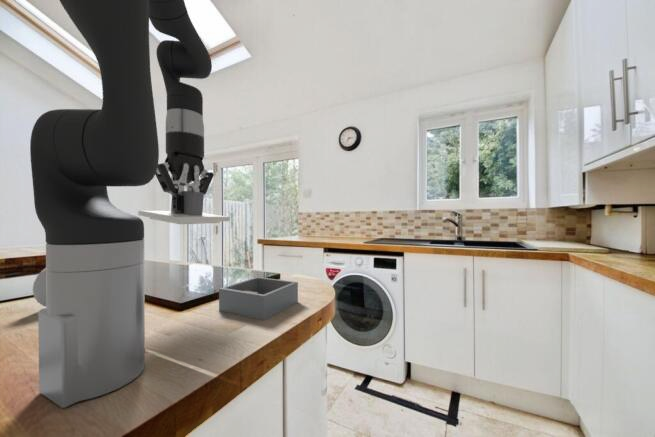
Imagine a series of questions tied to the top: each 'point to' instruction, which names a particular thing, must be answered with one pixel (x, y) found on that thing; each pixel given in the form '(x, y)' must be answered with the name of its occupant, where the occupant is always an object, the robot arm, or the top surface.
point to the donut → (40, 288)
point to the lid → (186, 212)
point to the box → (258, 297)
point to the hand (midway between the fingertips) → (185, 213)
